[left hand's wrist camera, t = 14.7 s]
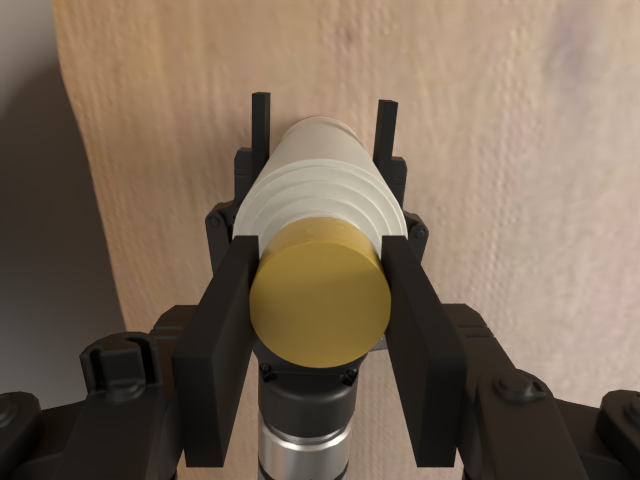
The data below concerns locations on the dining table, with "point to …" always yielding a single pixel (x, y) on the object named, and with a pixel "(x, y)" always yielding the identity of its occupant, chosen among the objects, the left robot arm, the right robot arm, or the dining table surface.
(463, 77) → the dining table surface
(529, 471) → the left robot arm
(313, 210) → the bottle
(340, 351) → the cap
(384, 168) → the right robot arm
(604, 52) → the dining table surface
